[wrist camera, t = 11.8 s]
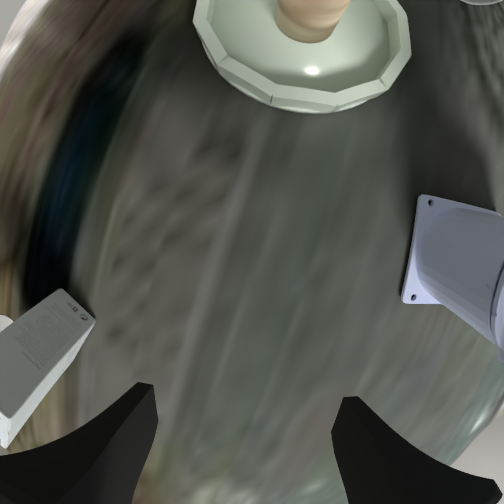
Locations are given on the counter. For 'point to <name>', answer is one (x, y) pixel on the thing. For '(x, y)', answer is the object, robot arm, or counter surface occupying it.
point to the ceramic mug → (481, 2)
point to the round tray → (305, 54)
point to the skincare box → (37, 356)
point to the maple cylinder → (309, 18)
